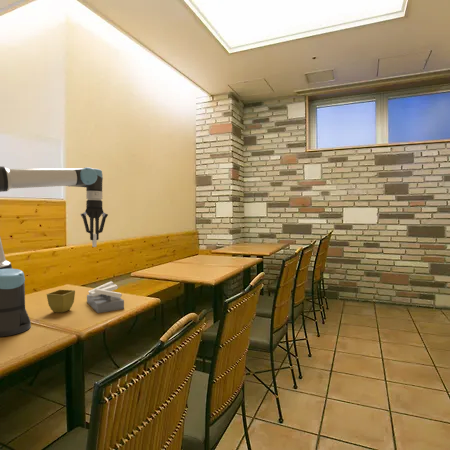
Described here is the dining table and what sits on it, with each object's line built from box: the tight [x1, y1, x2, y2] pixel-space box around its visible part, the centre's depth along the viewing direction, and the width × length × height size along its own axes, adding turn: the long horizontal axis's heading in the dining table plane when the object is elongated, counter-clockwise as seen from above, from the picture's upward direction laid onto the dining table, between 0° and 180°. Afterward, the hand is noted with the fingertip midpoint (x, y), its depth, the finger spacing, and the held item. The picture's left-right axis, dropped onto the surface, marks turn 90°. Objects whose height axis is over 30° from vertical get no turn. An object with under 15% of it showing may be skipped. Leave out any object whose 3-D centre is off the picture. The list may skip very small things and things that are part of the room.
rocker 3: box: [94, 287, 123, 298], centre depth 158 cm, size 12×3×2 cm, turn 124°
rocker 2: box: [91, 283, 119, 297], centre depth 163 cm, size 12×3×2 cm, turn 124°
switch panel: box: [86, 293, 125, 314], centre depth 163 cm, size 12×22×6 cm, turn 34°
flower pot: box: [46, 289, 76, 314], centre depth 154 cm, size 9×9×9 cm
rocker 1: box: [87, 281, 115, 295], centre depth 168 cm, size 12×3×2 cm, turn 124°
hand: (94, 246), depth 168 cm, fingers closed
